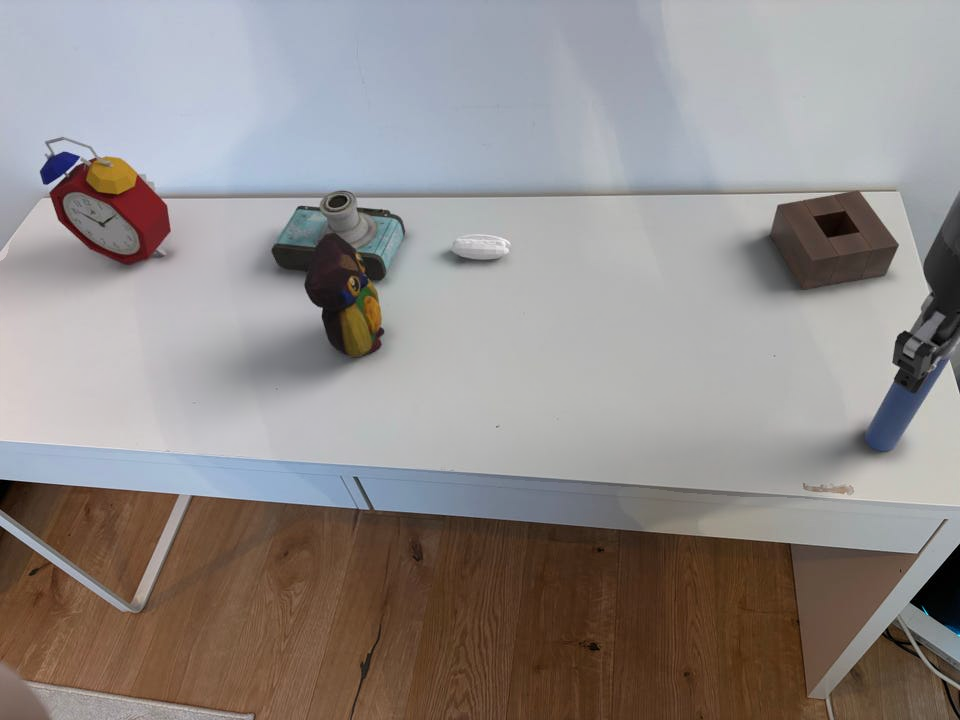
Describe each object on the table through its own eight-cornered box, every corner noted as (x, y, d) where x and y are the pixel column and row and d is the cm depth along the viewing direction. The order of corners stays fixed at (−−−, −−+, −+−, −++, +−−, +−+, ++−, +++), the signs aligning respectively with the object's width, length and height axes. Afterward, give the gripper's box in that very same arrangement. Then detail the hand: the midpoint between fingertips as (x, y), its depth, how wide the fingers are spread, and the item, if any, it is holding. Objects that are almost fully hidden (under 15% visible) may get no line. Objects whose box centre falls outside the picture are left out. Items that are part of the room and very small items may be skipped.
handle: (887, 425, 76) (945, 325, 64) (901, 449, 75) (964, 351, 62) (859, 430, 76) (911, 331, 64) (872, 454, 75) (929, 357, 62)
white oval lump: (455, 245, 101) (452, 230, 99) (512, 248, 100) (510, 232, 98) (451, 261, 100) (447, 246, 97) (508, 264, 98) (506, 249, 96)
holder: (847, 220, 96) (858, 190, 92) (885, 275, 89) (899, 244, 85) (769, 234, 96) (777, 204, 92) (802, 290, 89) (811, 260, 85)
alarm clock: (85, 259, 109) (2, 146, 94) (119, 221, 114) (45, 108, 99) (166, 272, 105) (93, 157, 90) (198, 232, 110) (134, 116, 94)
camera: (254, 216, 95) (286, 169, 101) (278, 268, 103) (306, 221, 109) (370, 227, 91) (396, 177, 97) (386, 281, 99) (409, 231, 104)
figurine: (382, 372, 89) (351, 287, 77) (328, 373, 90) (289, 288, 78) (394, 312, 95) (367, 225, 83) (343, 314, 96) (309, 227, 84)
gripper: (996, 311, 49) (909, 445, 63) (1105, 213, 54) (1001, 358, 67) (895, 256, 53) (833, 392, 67) (1003, 169, 58) (925, 314, 71)
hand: (918, 374), depth 67 cm, fingers closed on handle, 3 cm apart
